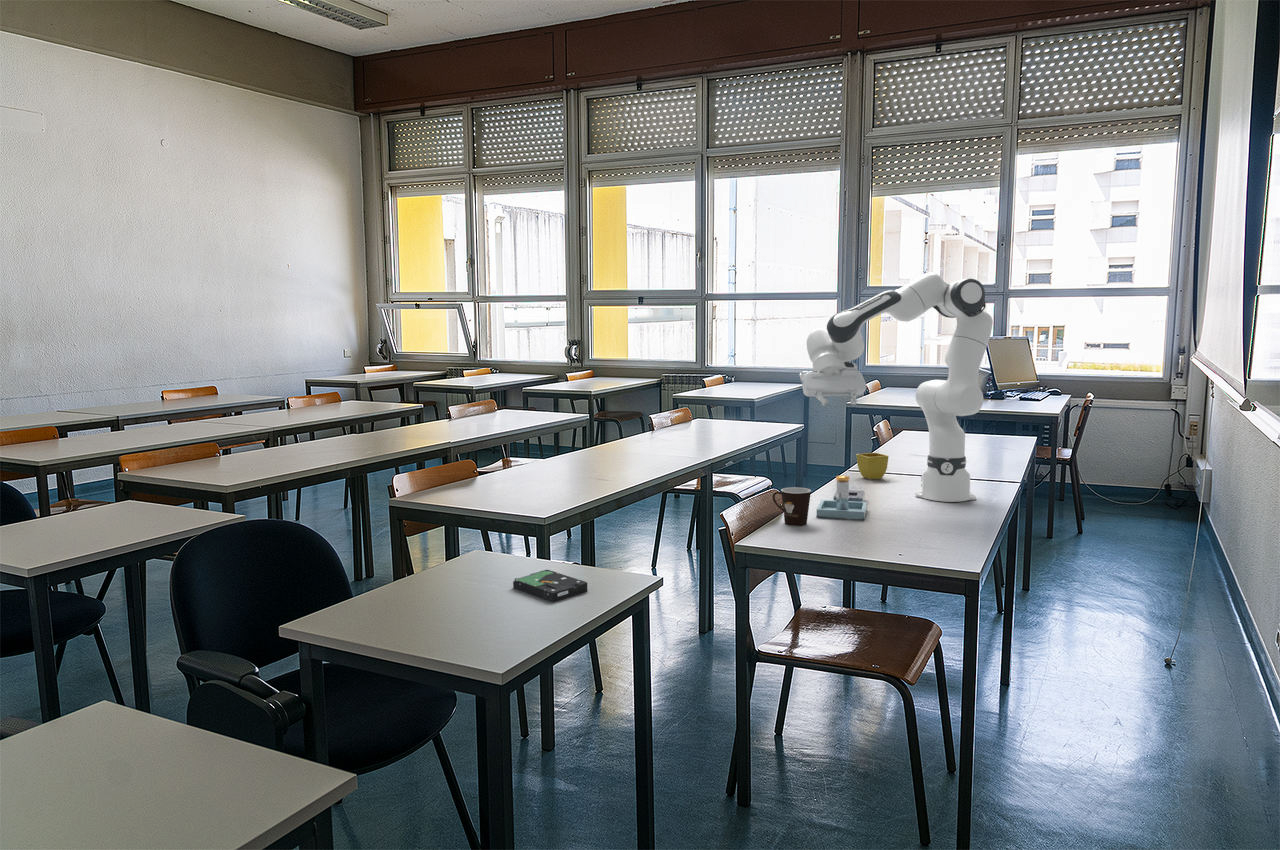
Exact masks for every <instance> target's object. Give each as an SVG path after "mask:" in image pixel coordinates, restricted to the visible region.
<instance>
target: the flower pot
mask: <svg viewBox="0 0 1280 850" xmlns="http://www.w3.org/2000/svg"><path fill="white" fill-rule="evenodd" d="M855 455H856V463H857V468H858V471H859V474H860V475H861V477H862V478H863V477H865V478H864V479H867V480H870V479H872V480H880V479H883V477H884V475H885V474H886V472H887V469H888V463H889V455H886V454H884V453H879V452H869V453H868V452H867V453H866V452H865V453H856V454H855Z"/></svg>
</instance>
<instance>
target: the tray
mask: <svg viewBox="0 0 1280 850" xmlns="http://www.w3.org/2000/svg"><path fill="white" fill-rule="evenodd" d="M867 505H868V502H867V501H864V502H854V501H848V510H836V501H834V499H833V500H831V499H821V500H820V502H819V504H818V507H817V508H816V518H817V517H827V518H826V519H834V518H847V519H846V520H852V519H864V518H866V515H865V514H867V511H866V510H868V509H867V508H868V506H867ZM848 518H849V519H848ZM864 520H865V519H864Z"/></svg>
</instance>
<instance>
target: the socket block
mask: <svg viewBox="0 0 1280 850" xmlns="http://www.w3.org/2000/svg"><path fill="white" fill-rule="evenodd" d="M865 493H866V491H865V490H855V489H854V490H852V489H849V499H848V501H854V502H865V498H866V497H865V496H866V494H865ZM836 499H837V490H836V491H835V494H834V495H833V500H834V501H836Z"/></svg>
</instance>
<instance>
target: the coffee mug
mask: <svg viewBox="0 0 1280 850" xmlns="http://www.w3.org/2000/svg"><path fill="white" fill-rule="evenodd" d="M811 494H812V490H811V489H809V488H806V487H784V488H782V489H781V490H780V491H775V492H774V493H773V494H772V500H773V502H774V505H776V506H777V507H778V509H780V510H781V511H782V512H783V518H784V519H783V520H784V524H785V525H787V526H789V527H803V525H804V526H807V524H808V517H809V516H808V515H809V507H810V502H811V501H810V499H811ZM776 495H780V496H781V500H782V501H781V502H782V506H781V505H780V504H779V503H778V502H777V500H776V499H775V497H776Z"/></svg>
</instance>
